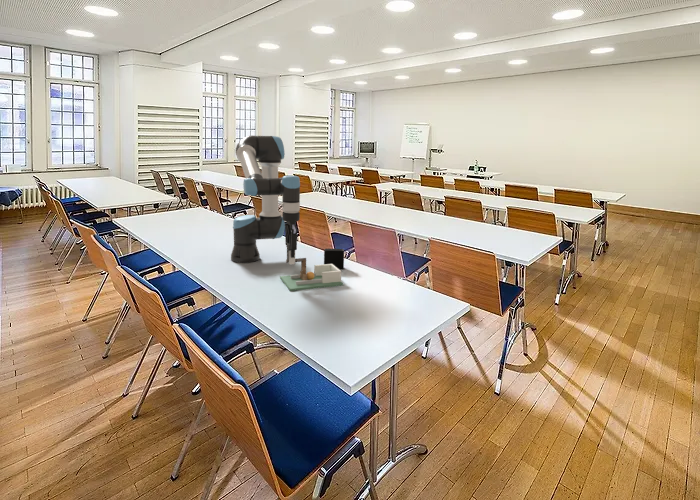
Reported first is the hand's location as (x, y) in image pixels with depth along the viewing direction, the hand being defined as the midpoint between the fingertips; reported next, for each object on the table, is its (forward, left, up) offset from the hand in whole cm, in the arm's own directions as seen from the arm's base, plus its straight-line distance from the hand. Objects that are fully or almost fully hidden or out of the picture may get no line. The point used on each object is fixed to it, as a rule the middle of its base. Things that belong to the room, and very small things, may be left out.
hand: (291, 262), depth 198 cm
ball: (0, +9, -7) cm, 12 cm away
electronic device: (-17, +27, -10) cm, 34 cm away
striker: (0, +2, -9) cm, 9 cm away
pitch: (0, +10, -10) cm, 14 cm away
